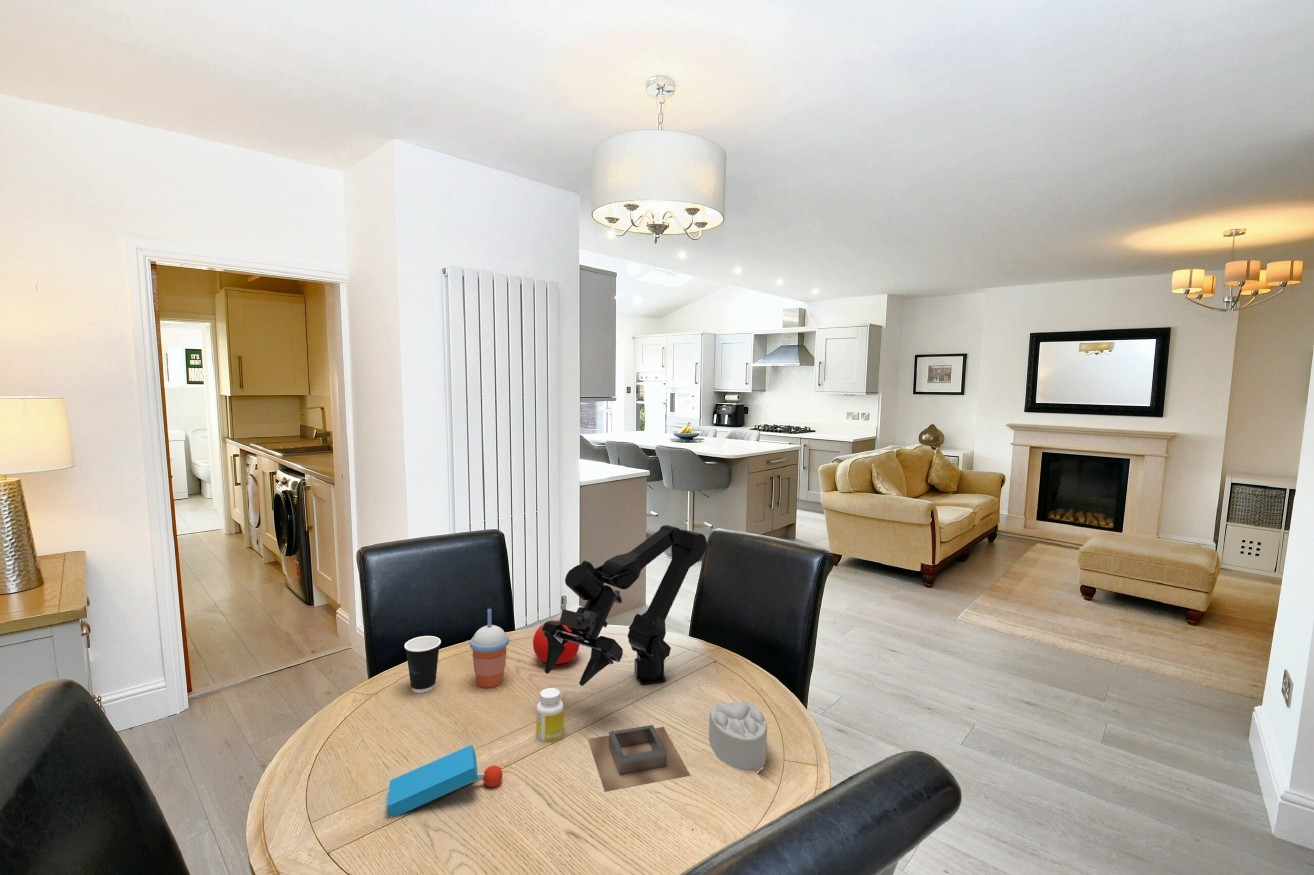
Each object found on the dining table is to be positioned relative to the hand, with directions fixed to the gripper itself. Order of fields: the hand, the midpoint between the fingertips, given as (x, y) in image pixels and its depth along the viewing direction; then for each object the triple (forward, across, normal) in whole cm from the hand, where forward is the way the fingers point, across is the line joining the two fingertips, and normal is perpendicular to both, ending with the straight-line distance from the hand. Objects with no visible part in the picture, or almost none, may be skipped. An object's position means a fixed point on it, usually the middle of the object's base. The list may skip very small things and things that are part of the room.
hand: (563, 678), depth 123 cm
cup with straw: (+4, -27, +12) cm, 30 cm away
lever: (+26, -4, -10) cm, 29 cm away
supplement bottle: (+11, 0, +5) cm, 12 cm away
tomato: (-9, -21, +24) cm, 33 cm away
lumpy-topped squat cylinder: (-1, +35, +16) cm, 38 cm away
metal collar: (+7, +19, +6) cm, 21 cm away
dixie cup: (+11, -38, +4) cm, 40 cm away
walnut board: (+8, +19, +7) cm, 22 cm away
